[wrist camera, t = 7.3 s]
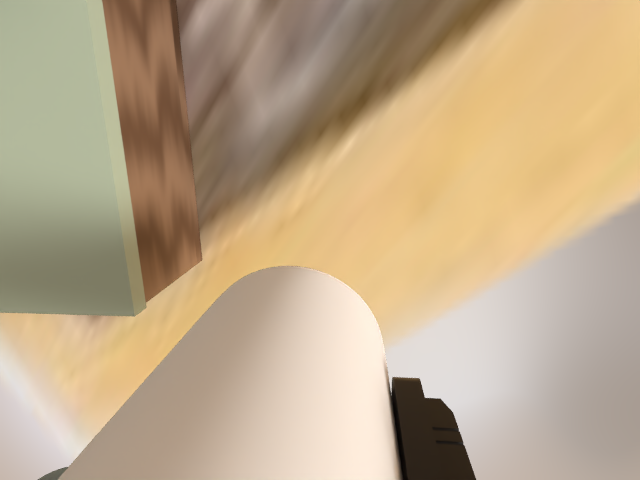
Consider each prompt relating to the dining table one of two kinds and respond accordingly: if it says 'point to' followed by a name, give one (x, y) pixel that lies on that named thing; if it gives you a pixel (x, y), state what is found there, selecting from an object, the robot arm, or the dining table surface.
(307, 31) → the dining table surface
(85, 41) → the lid
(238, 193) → the dining table surface
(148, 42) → the chest
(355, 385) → the can
